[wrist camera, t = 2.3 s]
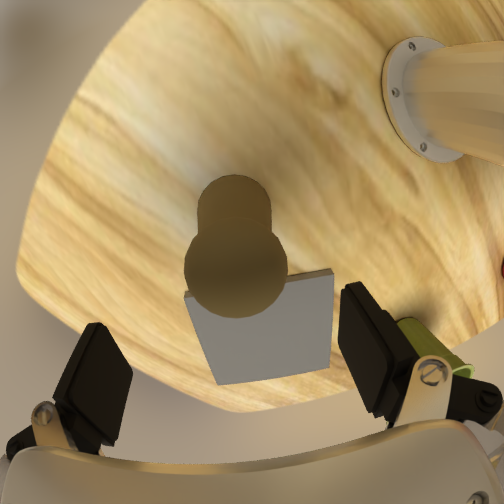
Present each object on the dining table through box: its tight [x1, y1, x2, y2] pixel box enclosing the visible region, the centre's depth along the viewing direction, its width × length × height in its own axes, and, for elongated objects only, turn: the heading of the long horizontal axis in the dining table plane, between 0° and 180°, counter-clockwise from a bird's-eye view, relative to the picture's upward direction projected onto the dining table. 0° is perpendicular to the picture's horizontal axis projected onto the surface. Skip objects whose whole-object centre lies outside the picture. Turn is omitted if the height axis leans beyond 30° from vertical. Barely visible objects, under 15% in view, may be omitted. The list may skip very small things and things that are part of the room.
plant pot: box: [386, 318, 474, 425], centre depth 26 cm, size 12×12×11 cm
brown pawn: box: [184, 175, 288, 319], centre depth 17 cm, size 6×6×11 cm
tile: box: [184, 269, 334, 385], centre depth 28 cm, size 14×14×1 cm
